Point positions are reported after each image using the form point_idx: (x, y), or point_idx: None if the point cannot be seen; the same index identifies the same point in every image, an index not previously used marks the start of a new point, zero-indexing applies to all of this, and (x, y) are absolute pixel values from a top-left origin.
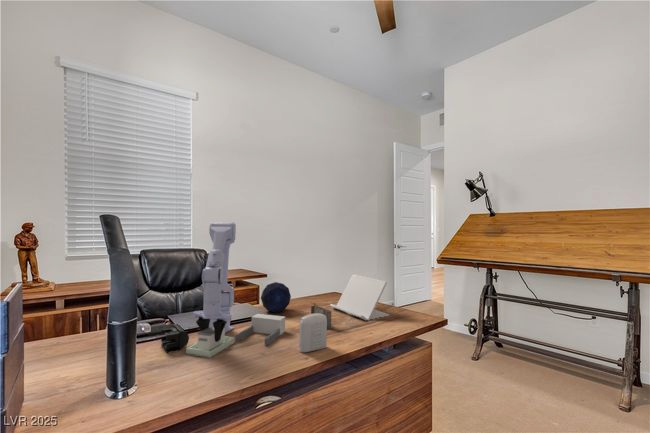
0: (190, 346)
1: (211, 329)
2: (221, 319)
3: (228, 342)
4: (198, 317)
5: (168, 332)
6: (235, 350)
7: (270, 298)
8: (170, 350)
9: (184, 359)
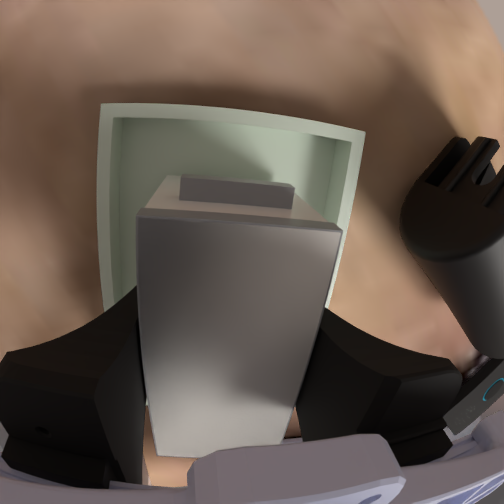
0: (349, 170)
1: (229, 376)
2: (39, 478)
3: None
4: (451, 444)
5: None
6: (38, 278)
7: None
8: (453, 151)
9: (301, 39)
